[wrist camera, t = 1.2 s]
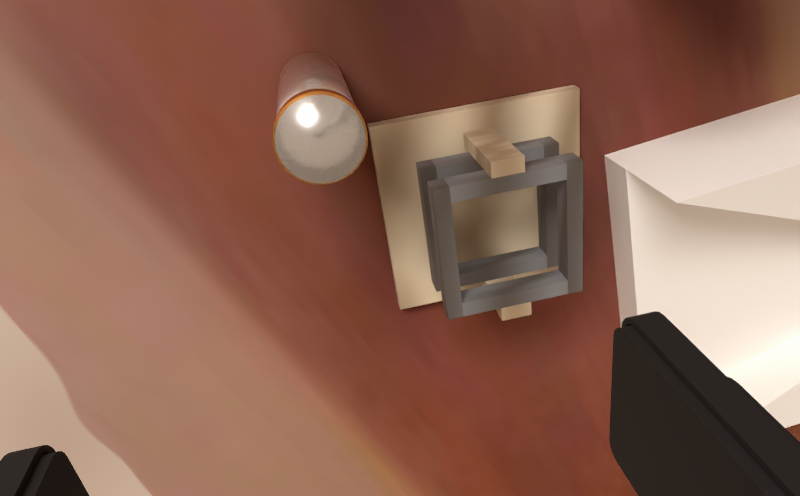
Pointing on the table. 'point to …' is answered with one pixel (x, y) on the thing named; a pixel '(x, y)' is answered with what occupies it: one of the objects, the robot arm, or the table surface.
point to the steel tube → (317, 122)
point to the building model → (718, 244)
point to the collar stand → (484, 202)
